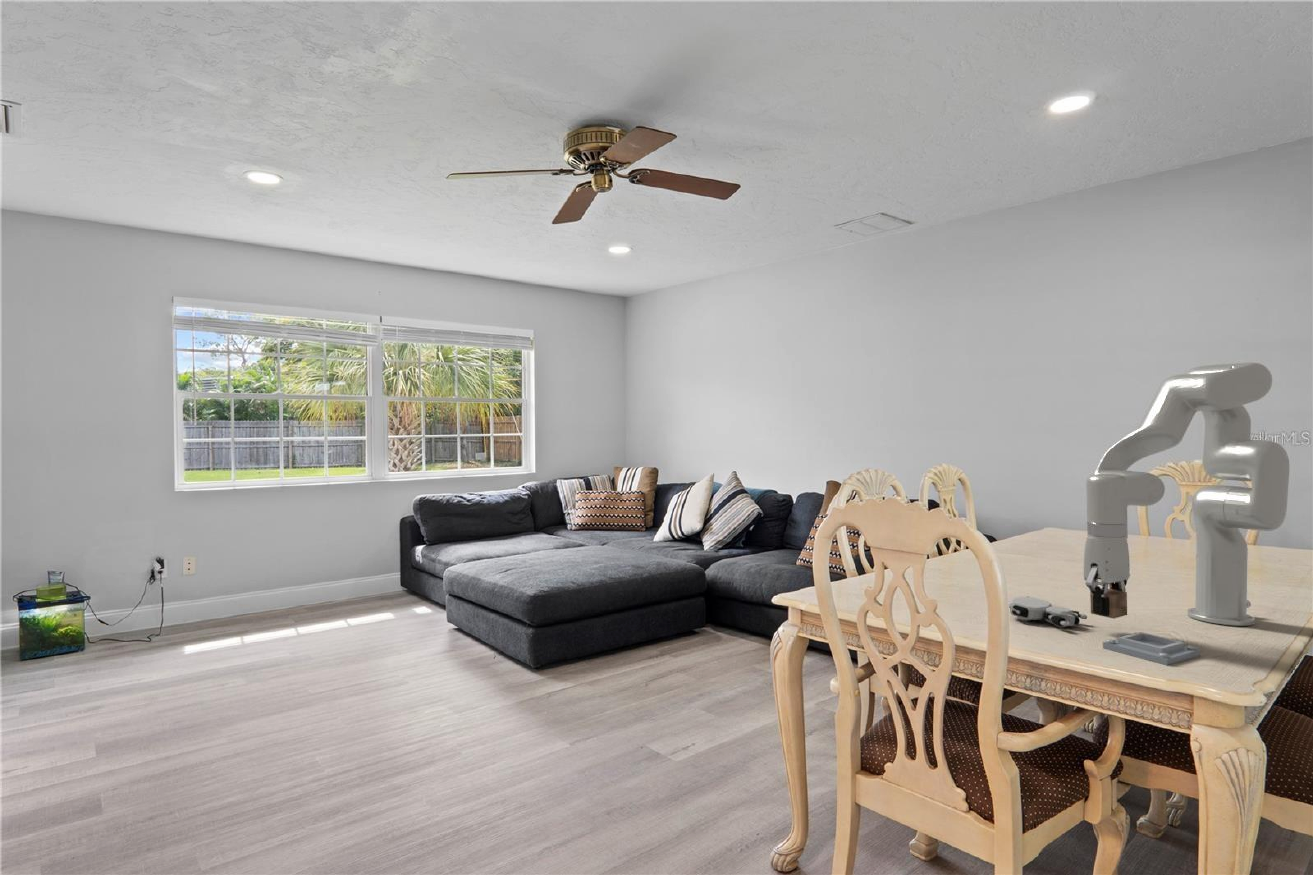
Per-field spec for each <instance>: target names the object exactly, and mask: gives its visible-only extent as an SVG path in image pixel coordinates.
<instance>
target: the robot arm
mask: <svg viewBox="0 0 1313 875" xmlns="http://www.w3.org/2000/svg"><path fill="white" fill-rule="evenodd" d="M1272 376H1273V375H1272V373H1271V371H1270V370H1269V368H1268V367H1266V366H1265V365H1263V364H1262V363H1259V362H1239V363H1227V364H1226V363H1225V364H1224V363H1223V364H1208V365H1203V366H1201V365H1200V366H1197V367H1193V368H1190V369H1188V370H1187V371H1186V372H1185V373H1184V374H1176V375H1172V376H1169V377H1167V378H1166V379H1164V381H1162V383H1161V384H1160V386H1159V387H1158V389H1157V392H1156V393H1155V395H1154V397H1153V399H1152V401H1151V403H1150V405H1149V407H1148V409H1147V410H1146V412H1145V415H1144V416H1143V418H1142V421H1141V423H1140V424H1139V426H1137V427H1136V428H1135V430H1133V431H1131V432H1129V433H1128V434H1126V435H1125V436H1124V437H1122V438H1121V439H1120V440H1118V441H1117V442H1116V443H1114V445H1112V446H1111V447H1110V448H1109V449H1108V450H1107V451H1106V452H1105V453H1104V454H1103V455H1102V457H1101V458H1100V461H1099V463H1098V464H1097V466H1096V469H1095V470H1094V473H1093V474H1091V475H1089V476H1087V479H1086V483H1085V484H1086V519H1087V520H1086V521H1087V522H1086V525H1087V526H1086V527H1087V530H1086V531H1087V537H1086V540H1085V544H1084V554H1083V556H1084V557H1083V580H1084V581H1085V585H1086V587H1088V589H1089V591H1091V595H1092V596H1093V613H1095V614H1099V615H1098V616H1100V615H1103V616H1102V617H1104V616H1109V598H1107V591H1108V589H1112V590H1118V591H1123V592H1127V591H1126V585H1127V583H1128V580H1129V578H1130V576H1131V574H1130V567H1131V566H1130V551H1129V543H1128V537H1129V536H1128V532H1129V531H1128V529H1129V528H1128V506H1134V507H1135V506H1136V507H1138V506H1139V507H1148V506H1149V507H1150V506H1153V505H1155V504H1157V503H1159V502H1160V501H1161V500H1162V499H1163V497H1164V495H1165V490H1166V489H1165V488H1166V486H1165V484H1164V482H1163V480H1162V479H1161V477H1159V476H1157V475H1156V474H1153V473H1150V472H1146V471H1136V470H1135V471H1134V470H1133V471H1132V470H1128V469H1129V468H1130V467H1131V466H1132V465H1134V464H1135V463H1136V462H1139V461H1140V460H1142V459H1144V458H1148V457H1150V456H1152V455H1155V454H1158V453H1161V452H1165V451H1167V450H1169V449H1171V448H1174V447H1177V446H1178V445H1180V443H1181V442H1182V440H1183V438H1184V436H1185V434H1186V432H1187V430H1188V428H1189V426H1190V424H1191V422H1192V421H1193V419H1194V416H1195V415H1196V413H1197V412H1201V413H1202V415H1203V418H1204V438H1203V441H1204V442H1203V456H1202V466H1203V470H1204V473H1205V474H1206V475H1208V476H1209V477H1211V478H1213V479H1217V480H1218V479H1219V480H1225V481H1236V482H1237V481H1239V482H1250V483H1251V487H1243V486H1236V485H1235V486H1234V485H1225V484H1224V485H1221V484H1213V485H1206V486H1203V487H1200V488H1199V489H1197V491H1196V492H1194V494H1193V496H1192V499H1191V509H1192V515H1193V519H1194V525H1195V532H1196V536H1195V537H1196V551H1195V552H1196V553H1195V554H1196V556H1195V559H1196V560H1195V562H1196V563H1195V606H1194V607H1191V608H1189V609H1187V616H1188V617H1190V618H1191V619H1194V620H1198V621H1201V622H1206V623H1211V624H1217V625H1225V626H1236V627H1245V626H1253V625H1255V623H1256V618H1255V617H1254V616H1252V615H1249V614H1247V609H1249V608H1251V606H1252V603H1251V601H1250V600H1248V595H1247V594H1248V554H1249V552H1248V545H1247V541H1246V539H1245V537H1244V535H1243V534H1242V533H1241V530H1240V529H1242V530H1243V529H1244V530H1251V531H1259V532H1261V531H1262V532H1272V531H1275V530H1277V529H1279V528H1280V527H1281V526H1283V525H1282V524H1283V523H1284V521H1285V519H1286V515H1287V510H1288V509H1287V508H1288V496H1289V482H1290V460H1289V455H1288V453H1287V451H1286V450H1285V448H1284V446H1283V445H1281V443H1280V444H1279V443H1277V442H1275V441H1271V440H1266V439H1265V440H1261V439H1252V437H1251V434H1252V433H1251V430H1252V429H1251V428H1252V423H1251V422H1252V420H1251V416H1250V414H1249V412H1248V410H1247V408H1246V407H1245V406H1244V405H1247V404H1250V403H1253V402H1257V401H1259V400H1261V399H1263V398H1264V397H1266V395H1267V394H1268V393H1269V391H1270V390H1271V387H1272V385H1273V377H1272ZM1099 580H1100V581H1099ZM1100 586H1102V587H1100ZM1101 588H1102V590H1101ZM1095 614H1094V615H1095Z"/></svg>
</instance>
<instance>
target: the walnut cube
mask: <svg viewBox="0 0 1313 875" xmlns="http://www.w3.org/2000/svg"><path fill="white" fill-rule="evenodd" d="M1100 588H1101V590H1102V587H1100ZM1089 591H1090V590H1089ZM1089 596H1090V598H1089V599H1090V600H1089V601H1090V614H1091V615H1095V616H1100V617H1104V618H1109V619H1118V618H1121V617H1125V616H1128V592H1127V591H1125V592H1123V591H1118V590H1112V589H1110V588H1108V591H1107V598H1109V616H1103V615H1099V614H1095V613H1093V596H1092V595H1091V591H1090V595H1089Z"/></svg>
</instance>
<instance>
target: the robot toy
mask: <svg viewBox="0 0 1313 875" xmlns="http://www.w3.org/2000/svg"><path fill="white" fill-rule="evenodd" d="M1008 606H1009V608H1010V612H1009V613H1010V614H1011V615H1012V616H1014V617H1016V618H1017V619H1018V620H1019V621H1022V622H1030V621H1031V620H1032V621H1038V620H1039V621H1041V620H1045V621H1046V622H1047V623H1049V624H1051V625H1053V626H1055V627H1057V628H1066V627H1069V626H1070V627H1075V626H1077V625H1079V623H1080V622H1081V620H1080V619H1082V620H1087V619H1088V615H1086V614H1084V613H1080V611H1077V610H1072V609H1071V608H1067V607H1064V606H1061V605H1060V606H1059V605H1056V604H1055V605H1053V604H1051V602H1049V601H1048V600H1044V599H1042V598H1041V599H1040V598H1036V597H1032V596H1029V595H1028V596H1019V597H1015V598H1013V599H1011V600H1009V602H1008ZM1009 608H1008V609H1009Z"/></svg>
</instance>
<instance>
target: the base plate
mask: <svg viewBox="0 0 1313 875" xmlns="http://www.w3.org/2000/svg"><path fill="white" fill-rule="evenodd" d="M1102 648H1103V649H1106V650H1110V651H1113V652H1118V653H1121V654H1123V655H1127V656H1131V657H1136V658H1139V659H1143V660H1146V661H1149V662H1153V663H1157V664H1161V665H1165V666H1168V665H1172V664H1176V663H1179V662H1183V661H1187V660H1190V659H1191V660H1192V659H1194V658H1196V657H1200V656H1201V649H1199V648H1198V647H1197V646H1196V645H1190V644H1189V645H1188V644H1187V645H1186V646H1185V642H1184V641H1180V640H1175V639H1170V638H1167V637H1163V636H1159V635H1155V634H1150V633H1146V632H1141V631H1140V632H1134V633H1131V634H1127V635H1123V636H1117V638H1115V639H1110V638H1106V640H1105V641H1102Z"/></svg>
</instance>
